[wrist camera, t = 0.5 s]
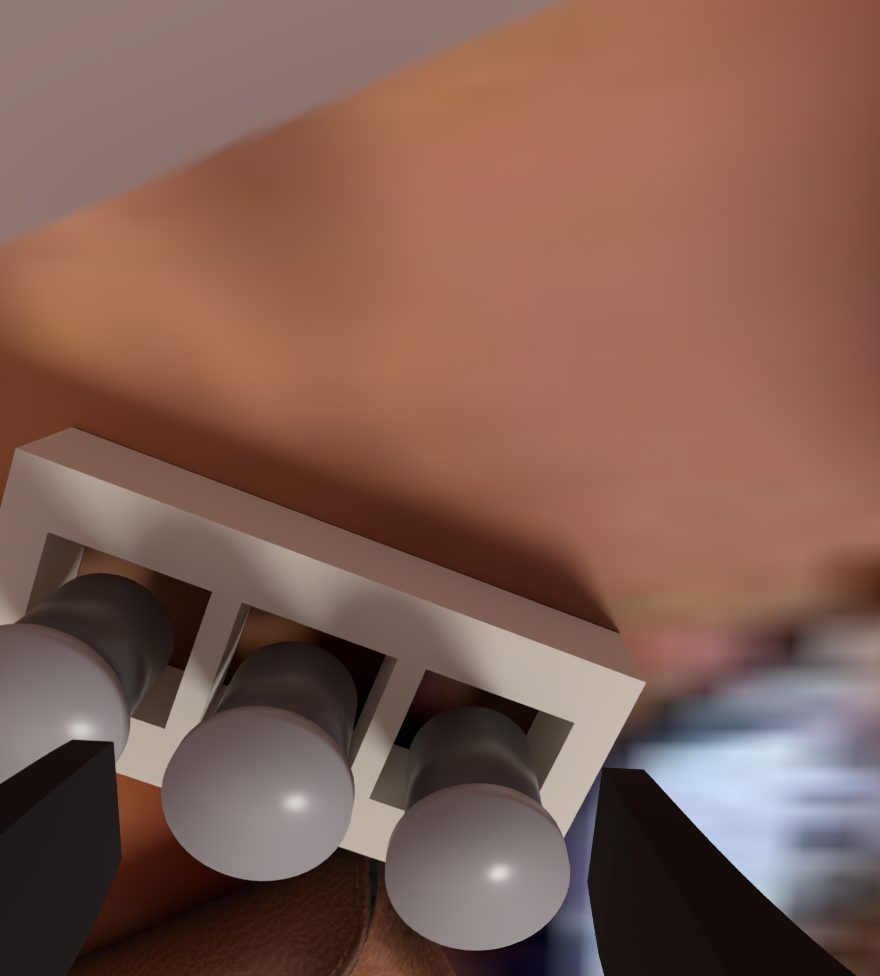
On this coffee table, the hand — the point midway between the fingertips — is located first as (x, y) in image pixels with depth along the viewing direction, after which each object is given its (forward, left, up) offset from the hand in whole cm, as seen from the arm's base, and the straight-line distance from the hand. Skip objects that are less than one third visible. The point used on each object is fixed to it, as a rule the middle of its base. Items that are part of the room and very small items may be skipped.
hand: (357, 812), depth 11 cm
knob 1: (+6, +3, -6) cm, 9 cm away
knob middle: (+1, +3, -6) cm, 7 cm away
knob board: (+1, +3, -9) cm, 9 cm away
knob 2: (-3, +3, -6) cm, 8 cm away
